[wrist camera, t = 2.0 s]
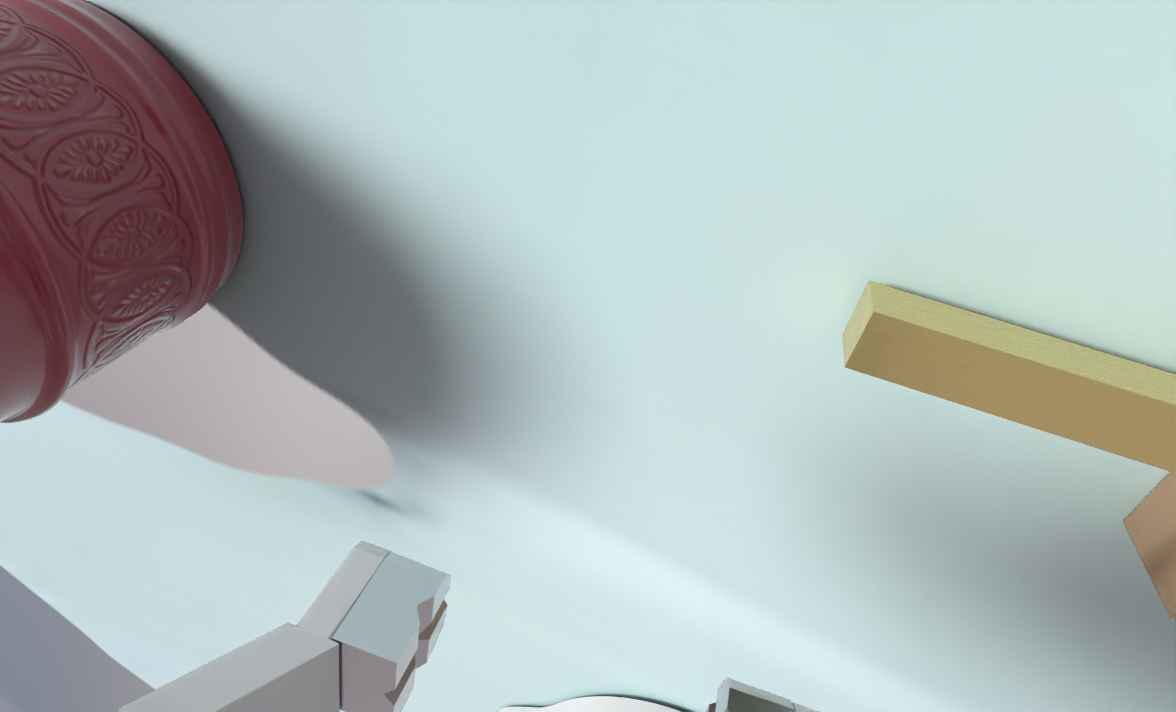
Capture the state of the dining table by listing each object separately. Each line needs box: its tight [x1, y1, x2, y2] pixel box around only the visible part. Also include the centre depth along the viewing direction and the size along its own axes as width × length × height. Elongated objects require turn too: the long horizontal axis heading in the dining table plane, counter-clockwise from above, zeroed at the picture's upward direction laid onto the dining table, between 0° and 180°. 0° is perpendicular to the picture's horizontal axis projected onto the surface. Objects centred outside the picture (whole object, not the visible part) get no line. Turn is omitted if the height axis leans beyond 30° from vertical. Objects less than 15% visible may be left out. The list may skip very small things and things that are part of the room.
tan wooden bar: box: [843, 281, 1176, 473], centre depth 21 cm, size 12×2×2 cm, turn 78°
